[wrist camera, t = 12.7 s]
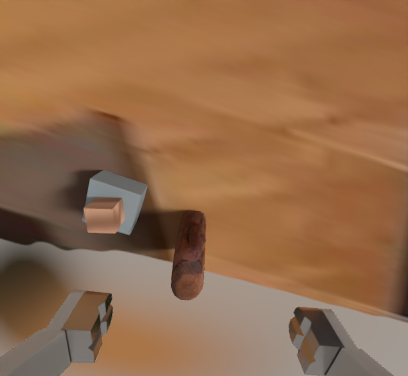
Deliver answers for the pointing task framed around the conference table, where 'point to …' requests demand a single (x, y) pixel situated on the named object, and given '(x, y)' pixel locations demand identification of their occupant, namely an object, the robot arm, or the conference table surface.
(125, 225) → the slate base block
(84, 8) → the conference table surface
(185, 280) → the wooden figurine
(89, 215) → the terracotta cube
